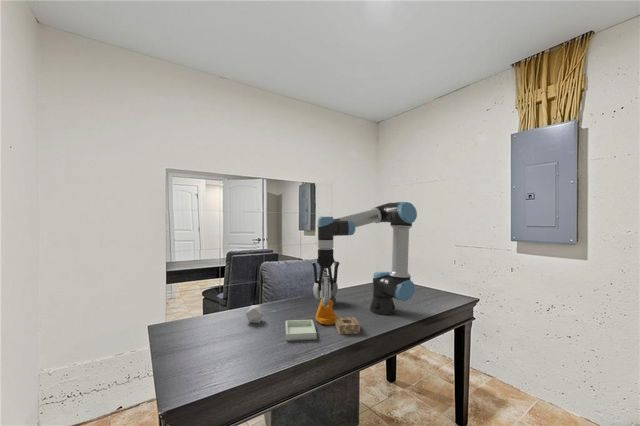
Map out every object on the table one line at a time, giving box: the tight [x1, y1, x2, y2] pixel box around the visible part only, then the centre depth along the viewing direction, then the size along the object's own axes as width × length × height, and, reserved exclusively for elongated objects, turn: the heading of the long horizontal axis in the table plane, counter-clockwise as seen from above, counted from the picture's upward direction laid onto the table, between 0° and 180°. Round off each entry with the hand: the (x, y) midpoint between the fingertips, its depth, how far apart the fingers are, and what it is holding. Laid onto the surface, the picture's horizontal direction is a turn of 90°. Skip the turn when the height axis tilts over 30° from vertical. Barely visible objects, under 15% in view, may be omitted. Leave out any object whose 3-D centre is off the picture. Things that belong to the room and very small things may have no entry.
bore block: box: [334, 316, 361, 335], centre depth 136 cm, size 10×10×4 cm
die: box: [245, 305, 265, 324], centre depth 144 cm, size 8×9×10 cm
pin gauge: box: [322, 277, 329, 306], centre depth 132 cm, size 3×3×13 cm
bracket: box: [314, 299, 340, 326], centre depth 146 cm, size 11×7×12 cm, turn 119°
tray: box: [284, 319, 318, 342], centre depth 131 cm, size 14×16×3 cm
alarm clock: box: [312, 274, 339, 307], centre depth 177 cm, size 16×10×18 cm, turn 122°
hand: (325, 297), depth 132 cm, fingers closed on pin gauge, 3 cm apart
